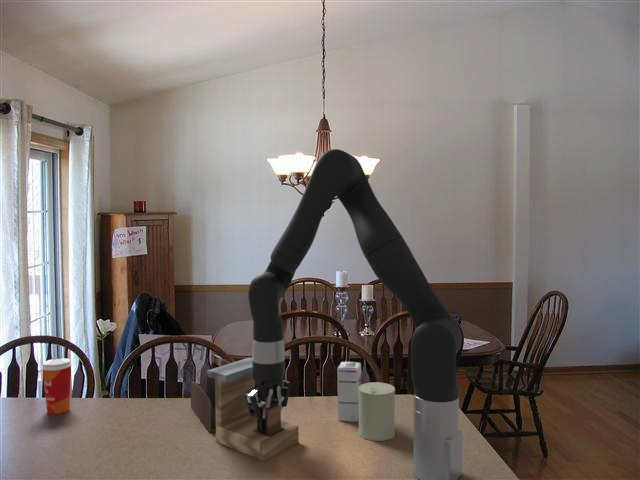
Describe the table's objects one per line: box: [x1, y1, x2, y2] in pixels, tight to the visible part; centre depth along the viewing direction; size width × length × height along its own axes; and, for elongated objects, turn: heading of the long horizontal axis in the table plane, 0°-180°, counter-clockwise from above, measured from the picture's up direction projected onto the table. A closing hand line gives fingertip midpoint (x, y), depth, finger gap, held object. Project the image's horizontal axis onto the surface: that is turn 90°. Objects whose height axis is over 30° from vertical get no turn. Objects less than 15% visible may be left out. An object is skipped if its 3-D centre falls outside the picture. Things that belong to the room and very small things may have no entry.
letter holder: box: [190, 358, 231, 434], centre depth 145 cm, size 10×20×14 cm, turn 27°
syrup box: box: [336, 361, 362, 423], centre depth 144 cm, size 6×6×14 cm
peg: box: [257, 402, 282, 437], centre depth 127 cm, size 4×4×7 cm
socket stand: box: [207, 357, 300, 462], centre depth 130 cm, size 18×14×18 cm
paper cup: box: [41, 357, 73, 415], centre depth 149 cm, size 8×8×14 cm
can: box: [357, 381, 396, 442], centre depth 134 cm, size 9×9×12 cm
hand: (269, 429), depth 127 cm, fingers closed on peg, 3 cm apart
